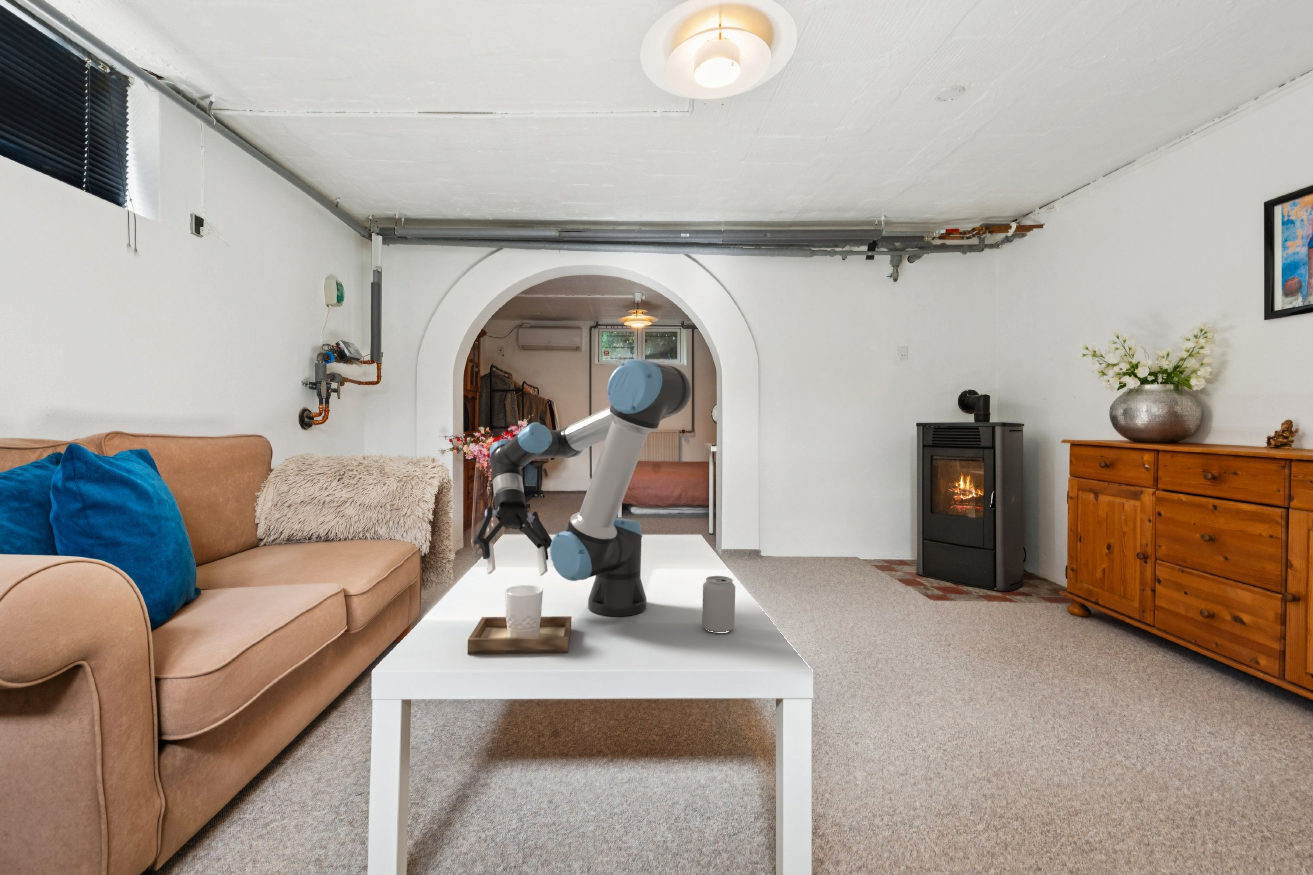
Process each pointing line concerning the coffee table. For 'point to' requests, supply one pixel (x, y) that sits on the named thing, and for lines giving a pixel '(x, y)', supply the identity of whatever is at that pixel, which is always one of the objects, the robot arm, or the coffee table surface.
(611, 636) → the coffee table surface
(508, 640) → the walnut tray
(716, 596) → the can
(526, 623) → the white cup
